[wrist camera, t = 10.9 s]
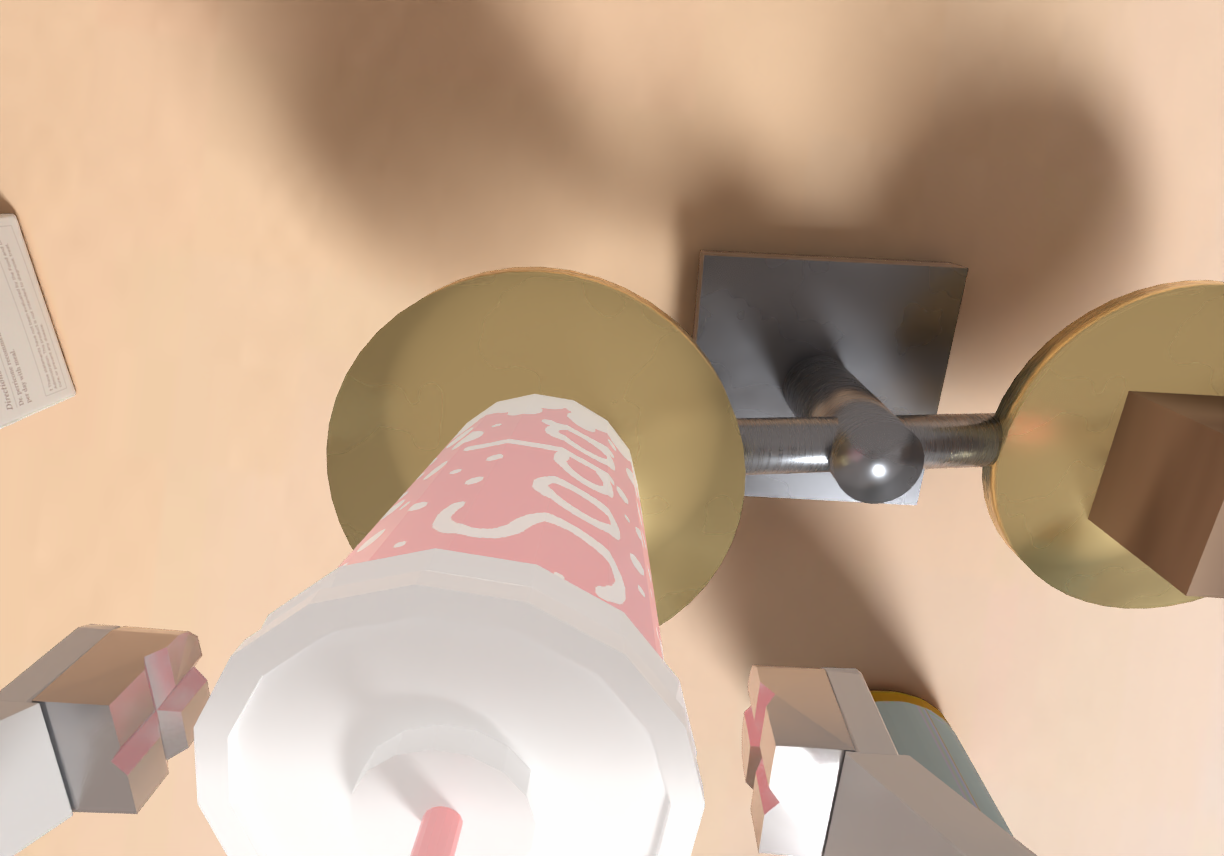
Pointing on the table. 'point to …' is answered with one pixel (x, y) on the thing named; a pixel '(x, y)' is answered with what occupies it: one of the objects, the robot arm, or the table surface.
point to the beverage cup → (467, 671)
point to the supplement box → (26, 335)
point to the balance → (781, 401)
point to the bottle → (934, 747)
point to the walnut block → (1168, 488)
